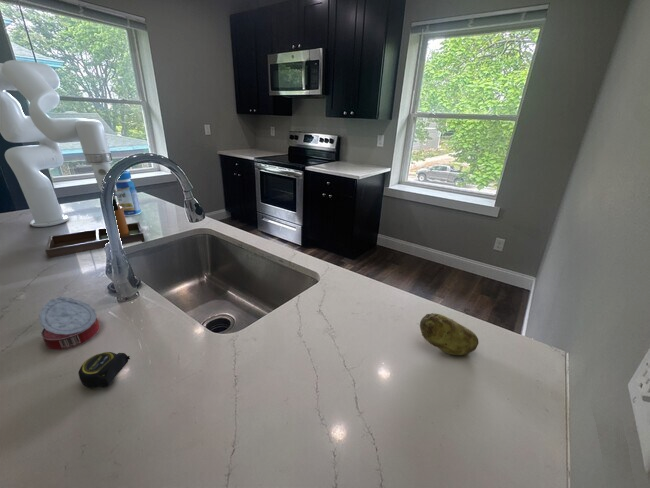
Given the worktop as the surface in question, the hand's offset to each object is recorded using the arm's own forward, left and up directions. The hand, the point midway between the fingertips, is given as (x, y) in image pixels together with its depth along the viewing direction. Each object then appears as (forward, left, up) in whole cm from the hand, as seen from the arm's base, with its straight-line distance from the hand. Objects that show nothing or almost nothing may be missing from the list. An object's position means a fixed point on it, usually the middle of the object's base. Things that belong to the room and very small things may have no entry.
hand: (112, 207), depth 111 cm
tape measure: (+73, -7, -13) cm, 75 cm away
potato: (+106, +57, -13) cm, 121 cm away
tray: (0, -7, -13) cm, 15 cm away
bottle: (0, 0, -12) cm, 12 cm away
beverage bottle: (-31, +6, -13) cm, 34 cm away
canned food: (+55, -13, -13) cm, 58 cm away
